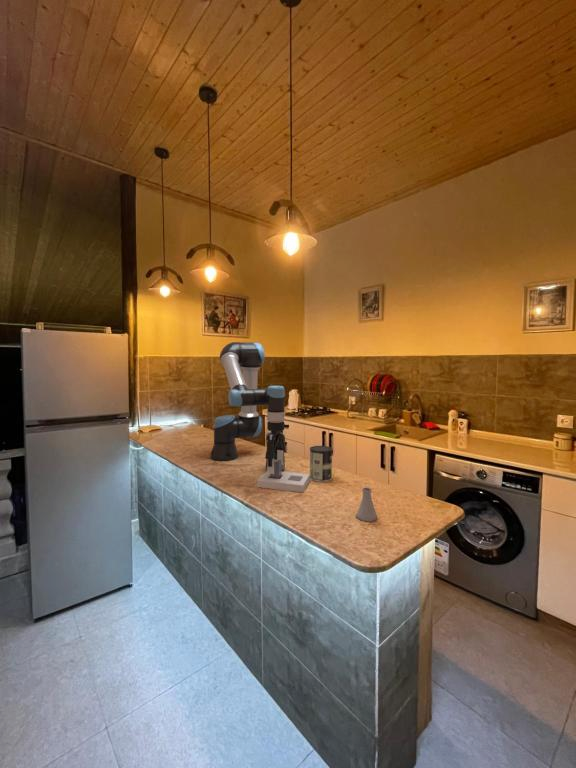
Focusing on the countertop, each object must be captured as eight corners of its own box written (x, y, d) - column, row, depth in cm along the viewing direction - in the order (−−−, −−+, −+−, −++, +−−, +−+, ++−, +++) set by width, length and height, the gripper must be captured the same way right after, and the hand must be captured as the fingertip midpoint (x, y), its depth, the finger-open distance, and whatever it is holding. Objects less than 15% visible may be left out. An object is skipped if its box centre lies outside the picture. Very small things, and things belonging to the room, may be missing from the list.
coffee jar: (263, 468, 165) (263, 432, 164) (275, 465, 170) (275, 430, 169) (275, 473, 158) (275, 435, 157) (287, 470, 163) (287, 433, 162)
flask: (361, 510, 118) (362, 483, 117) (380, 516, 113) (381, 488, 113) (351, 518, 112) (352, 489, 112) (371, 524, 108) (372, 494, 107)
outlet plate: (268, 476, 153) (268, 469, 153) (309, 480, 148) (310, 473, 148) (257, 487, 140) (257, 479, 140) (302, 492, 134) (302, 484, 134)
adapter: (272, 481, 147) (272, 458, 147) (281, 482, 146) (281, 459, 146) (269, 484, 144) (270, 461, 143) (278, 485, 142) (278, 462, 142)
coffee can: (330, 474, 157) (331, 445, 156) (333, 482, 146) (333, 451, 146) (309, 474, 157) (309, 445, 156) (310, 482, 147) (310, 451, 146)
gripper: (275, 426, 130) (275, 479, 132) (291, 417, 154) (291, 461, 156) (257, 425, 132) (257, 477, 134) (276, 416, 156) (276, 460, 158)
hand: (275, 468), depth 145 cm, fingers open, 13 cm apart
